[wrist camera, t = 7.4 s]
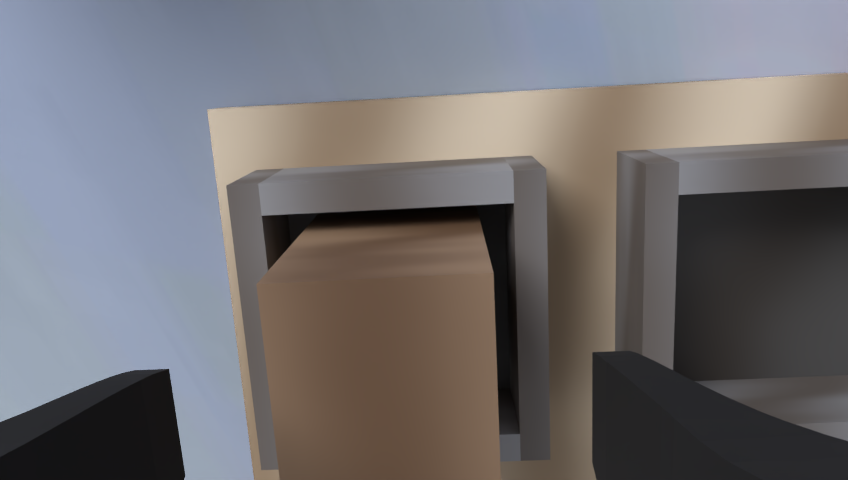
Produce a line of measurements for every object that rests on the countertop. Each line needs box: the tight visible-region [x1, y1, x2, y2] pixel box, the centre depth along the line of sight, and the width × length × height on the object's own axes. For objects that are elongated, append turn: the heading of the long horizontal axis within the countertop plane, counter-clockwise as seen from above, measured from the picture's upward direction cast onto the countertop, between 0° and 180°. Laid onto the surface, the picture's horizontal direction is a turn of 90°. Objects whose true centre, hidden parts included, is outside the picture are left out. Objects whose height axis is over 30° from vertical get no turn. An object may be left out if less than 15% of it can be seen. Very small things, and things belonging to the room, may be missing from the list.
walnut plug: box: [256, 206, 501, 480], centre depth 15 cm, size 4×4×6 cm
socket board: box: [207, 73, 848, 480], centre depth 17 cm, size 18×12×4 cm, turn 93°
